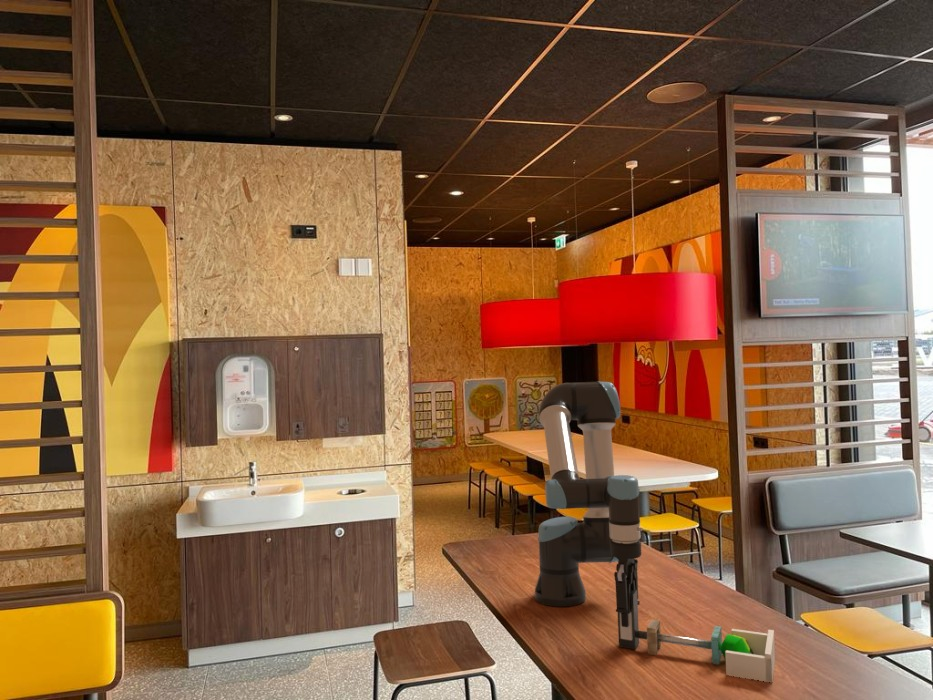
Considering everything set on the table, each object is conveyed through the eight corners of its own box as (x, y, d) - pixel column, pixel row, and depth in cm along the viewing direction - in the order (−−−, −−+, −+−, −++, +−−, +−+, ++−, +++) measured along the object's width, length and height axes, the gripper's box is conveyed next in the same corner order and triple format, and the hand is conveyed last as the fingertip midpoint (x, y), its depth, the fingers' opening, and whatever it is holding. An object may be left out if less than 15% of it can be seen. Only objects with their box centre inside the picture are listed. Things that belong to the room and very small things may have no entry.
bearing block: (647, 653, 158) (646, 627, 158) (652, 644, 163) (651, 619, 163) (656, 655, 157) (655, 628, 157) (661, 646, 162) (660, 620, 162)
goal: (726, 675, 146) (725, 647, 146) (732, 649, 159) (731, 624, 159) (772, 683, 142) (770, 654, 142) (775, 656, 155) (773, 630, 155)
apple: (727, 633, 150) (746, 622, 156) (708, 646, 154) (727, 634, 160) (749, 663, 147) (767, 650, 153) (729, 675, 150) (747, 662, 156)
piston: (617, 649, 161) (615, 594, 161) (624, 638, 167) (622, 586, 167) (718, 665, 150) (716, 607, 151) (722, 653, 156) (719, 597, 157)
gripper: (631, 550, 154) (635, 651, 154) (648, 532, 169) (652, 625, 169) (600, 546, 158) (604, 646, 157) (619, 530, 173) (623, 620, 172)
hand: (629, 635), depth 163 cm, fingers closed on piston, 4 cm apart
